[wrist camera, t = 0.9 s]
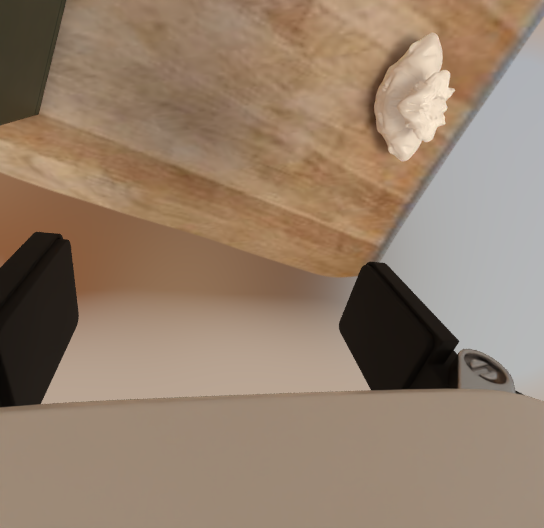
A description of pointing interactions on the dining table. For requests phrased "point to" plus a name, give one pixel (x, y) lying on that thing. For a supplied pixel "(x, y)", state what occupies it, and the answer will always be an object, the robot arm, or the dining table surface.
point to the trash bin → (26, 54)
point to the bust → (413, 98)
